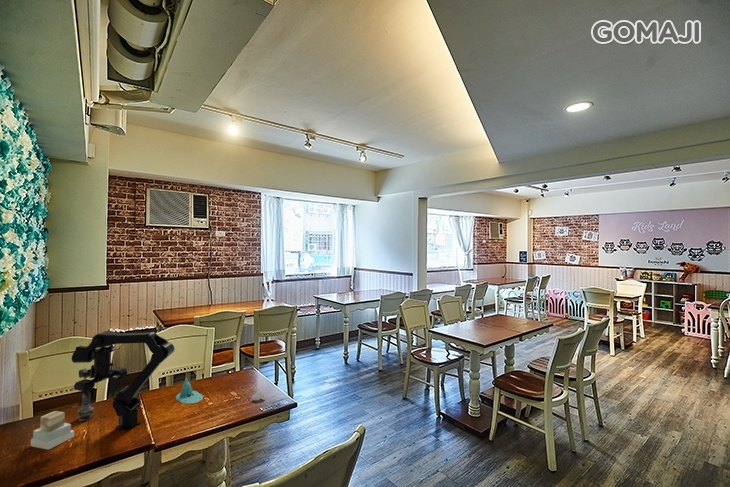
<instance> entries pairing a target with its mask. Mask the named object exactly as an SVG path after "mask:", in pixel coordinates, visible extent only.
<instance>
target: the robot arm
mask: <svg viewBox="0 0 730 487" xmlns="http://www.w3.org/2000/svg"><path fill="white" fill-rule="evenodd" d="M121 344H123V345H124V344H125V345H126V344H145V345H146V346H147V348H148V349H149V352H151V353H152V355H151V356H150V360H149V362H148V363H147V364H146V366H145V367H144V368H143V369H142V370H141V372H140V373H139V374H138V375H137V376H136V378H135V379H134V380H133V381H132V383H131V384H130V386H128V385H126V386H125V387H124V388H122V389H121V390H119V391H118V393H117V395H116V396H115V397H114V398H113V399H112V400H113V401H112V403H111V405H112V408H113V410H114V411H115V414H116V416H117V417H118V425H116V426H115V429H119V430H125V431H129V430H131V429H133V428H134V427H136V426H137V425H139V424H141V423H142V422H141V421H140V420H138V419H139V418H138V417H139V416H138V415H139V413H138V412H139V410H138V408H139V407H140V406H141V404H142V401H141V400H140V399H139V398H138V394H139V392H140V390H141V389H142V387H143V386H144V385H145V383H146V382H148V379H149V378H150V377H151V376H152V375H153V373H154V372H155V371H156V370H157V369H158V367H160V365H161V363H164V361H166V359H168V358H169V357H170V356H171V355H172V354H173V353H174V352H175V345H174V344H173V343H171V342H169V341H168V340H167V339H165V338H164V337H161V336H159V335H158V334H157V333H156V332H155V331H150V332H126V333H125V332H123V333H120V332H117V331H113V330H104V331H102V332H100V333H96V334H95V335H94V336H93V337H92V339H91V342H90V343H89V344H88V345H78V346H76V347H75V349H74V351H73V352H72V356H71V361H72V363H74V364H78V363H79V364H80V363H84V364H85V363H91V362H93V364H91V367H90V368H89V369H87V368H82V369H79V370H78V377H79V378H80V379H81V378H83V379H81V380H79V381H76V382H75V383H74V384H73V390H75V391H79V392H80V391H81V392H82V394H85V396H86V398H87V400H88V402H89V404H90V405H92V404H93V400H94V396H95V391H96V388H95V386H96V384H97V383H99V382H103V381H105V380H107V379H109V381H110V395H114V394H115V393H116V390H117V389H118V387H119V385H120V383H121V382H122V380H123V379H124V378H125V376H127V375H128V370H127V368H124V367H115V368H112V366H114V363H113V362H112V353H113V352H114V351H116V350H118V348H117V347H116V346H115V345H121ZM87 378H89V379H87Z"/></svg>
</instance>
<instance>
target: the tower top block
mask: <svg viewBox="0 0 730 487" xmlns="http://www.w3.org/2000/svg"><path fill="white" fill-rule="evenodd" d="M71 430H72V424H71V423H69V422H68V423H67V422H64V426H61V427H59V428H57V429H55V430H53V431H51V432H49V431H44V430H40V427H39V428H36V429H35V430H33V431H32V432H33V434H32V436H33V437H32V439H36V440H39V441H42V442H45V443H47V442H49V441H52V440H54V439H56V438H58V437H61V436H63V435H65V434H67V433H70V432H71Z"/></svg>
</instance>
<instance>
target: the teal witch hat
mask: <svg viewBox="0 0 730 487" xmlns="http://www.w3.org/2000/svg"><path fill="white" fill-rule="evenodd" d="M203 398H204V396H203V394H202V393H199V392H198V391H197V390H193V388H192V384H191V383H190V382H189V380H188V377H185V379H184V382H183V385H182V388H181V391H180V392H179V393H178V394H176V396H175V399H176V400H177V401H178V402H180V403H182V404H196V403H199V402H201V401H202V400H203Z"/></svg>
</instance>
